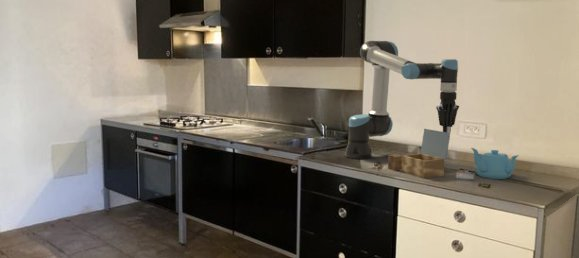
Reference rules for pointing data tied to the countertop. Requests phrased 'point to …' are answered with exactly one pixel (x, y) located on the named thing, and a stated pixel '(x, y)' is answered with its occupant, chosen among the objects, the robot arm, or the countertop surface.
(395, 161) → the block
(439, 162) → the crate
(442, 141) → the lid
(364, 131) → the robot arm
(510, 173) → the teapot
